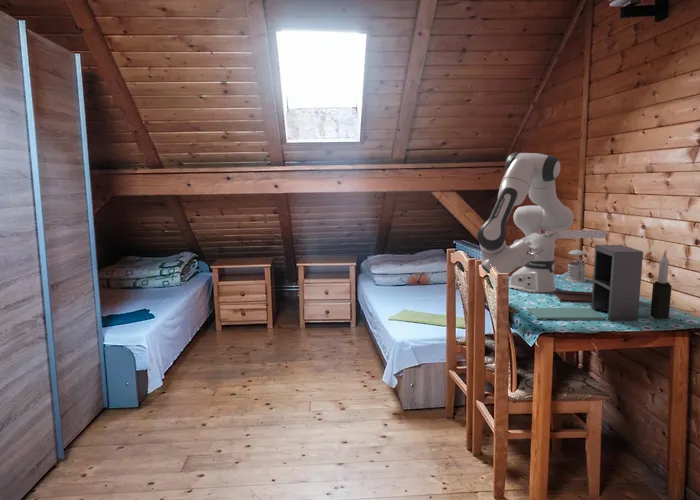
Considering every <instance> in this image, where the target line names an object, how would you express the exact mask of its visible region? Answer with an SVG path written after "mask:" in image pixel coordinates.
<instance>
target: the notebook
mask: <svg viewBox="0 0 700 500" xmlns="http://www.w3.org/2000/svg"><path fill="white" fill-rule="evenodd" d="M553 294H554V296H556V298H557V299H558V301H559V302H560V303H577V304H578V303H579V304H592V291H572V290H571V291H570V290H555V291H553Z"/></svg>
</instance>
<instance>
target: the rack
mask: <svg viewBox="0 0 700 500" xmlns="http://www.w3.org/2000/svg"><path fill="white" fill-rule="evenodd" d="M643 256H644V251H643V250H639V249H637V248H633V247H629V246H627V245H623V244H595V245H594V259H593V260H594V261H593V273H592V274H593V275H592V290H591V292H592V303H590V304H591V307H590V308H591V309H593V310H594V311H608V314H607V320H608V322H638V321H639V309H640V296H641V293H640V292H641V283H642V271H643V258H644V257H643Z"/></svg>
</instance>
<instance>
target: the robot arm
mask: <svg viewBox="0 0 700 500" xmlns="http://www.w3.org/2000/svg"><path fill="white" fill-rule="evenodd" d="M504 171H505V173H504V175H503V178H502V179H501V182H500V185H499V188H498V189H499V190H498V193H497V200H496V203H495V204H494V207H493V209H492V211H491V213H490V216H489V218H488V219H487V220H486V221H485V223H483V224H482V225H481V226H480V227H479V229H478V231H477V234H476V238H477V240H478V241H477V242H478V243H479V247H480V254H481V264H480V265H481V268H482V269H483V271H484V270H485V271H486V272H487V273H490V269H491V268H492V267H494V266H495V267H496V268H497V269H496V270H498V271H499V272H500V273H508V274H510V273H512V272H513V273H512V274H511V277H510V279H509V280H510V281H509V282H510V283H509V288H508V289H511V288H514V289H513V290H516V289H518V290H517V291H521V290H522V292H526V291H527V293H531V292H533V293H532V294H538V293H552V292H553V293H554V291H557V289H556V284H555V276H554V274H555V273H554V272H555V268H556V267H555V266H556V263H555V260H556V259H555V258H554V257H555V249H556V248H557V245H556V241H557V240H558V239H560V238H559V237H561V235H560V233H558V232H557V233H555V234H554V235H553V236H551V237H549V238H548V237H545V233H542V231H545V230H569V228H570V227H571V226H572V225H573V223H574V219H575V218H574V217H575V216H574V212H573V211H572V210H571V208H570V207H568V206H566V205H564V204H563V203H562V202H561V200H560V199H559V198H558V196H557V191H556V179H557V178H558V177H559V175H560V172H561V161H560V160H559V158H558V157H557V156H554V155H552V154H549V155H548V154H543V153H536V152H532V153H531V152H518V151H517V152H512V153H511V154H509V155H508V156H507V157H506V160H505V163H504ZM527 196H528V198H529V199H530V201H531V203H533V204H535V205H523V206H520V205H522V203H524V201H525V199H526V197H527ZM516 206H519V207H517V208H516V209H515V211H514V212H513V216H512V218H513V222H514V224H515V226H516V227H517V228H519V229H520V230H521V231H522V232H523V234H524V235H525V236H524V237H521V238H520V239H516V240H514V241H513V243H512V244H510V245H507V243H506V235H507V234H506V233H507V232H506V225H507V222H508V221H509V218H510V215H511V213H512V211H513V209H514V207H516ZM490 264H491V265H490ZM491 266H492V267H491ZM495 267H494V268H495ZM519 267H520V268H519ZM517 268H519V269H517ZM516 269H517V270H516ZM515 270H516V271H515ZM485 271H484V272H485ZM486 272H485V273H486ZM487 273H486V274H487Z"/></svg>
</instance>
